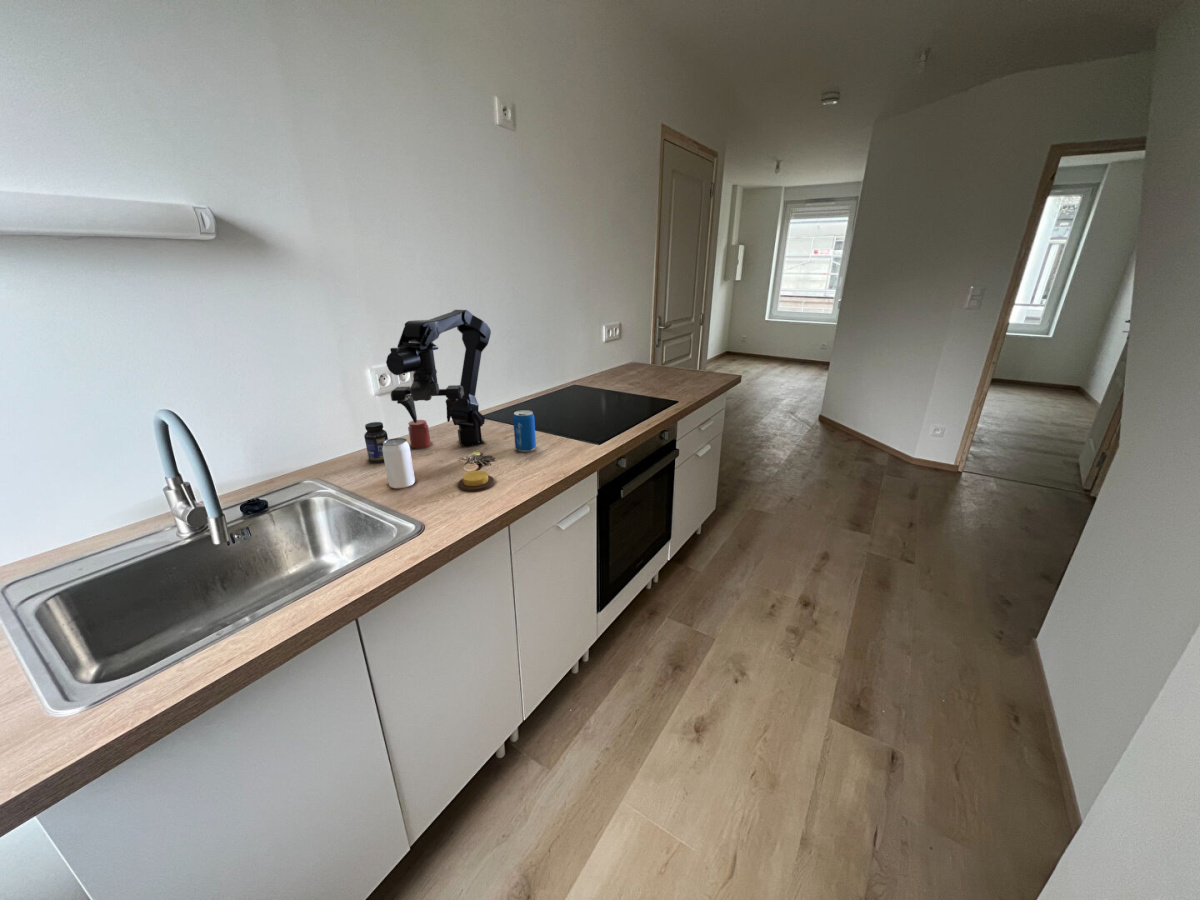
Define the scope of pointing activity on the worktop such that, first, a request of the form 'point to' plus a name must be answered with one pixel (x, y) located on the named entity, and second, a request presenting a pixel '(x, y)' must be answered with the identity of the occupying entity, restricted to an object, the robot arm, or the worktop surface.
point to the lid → (475, 478)
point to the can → (398, 463)
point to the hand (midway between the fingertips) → (432, 422)
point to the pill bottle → (375, 441)
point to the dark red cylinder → (419, 434)
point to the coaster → (476, 488)
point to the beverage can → (524, 430)
